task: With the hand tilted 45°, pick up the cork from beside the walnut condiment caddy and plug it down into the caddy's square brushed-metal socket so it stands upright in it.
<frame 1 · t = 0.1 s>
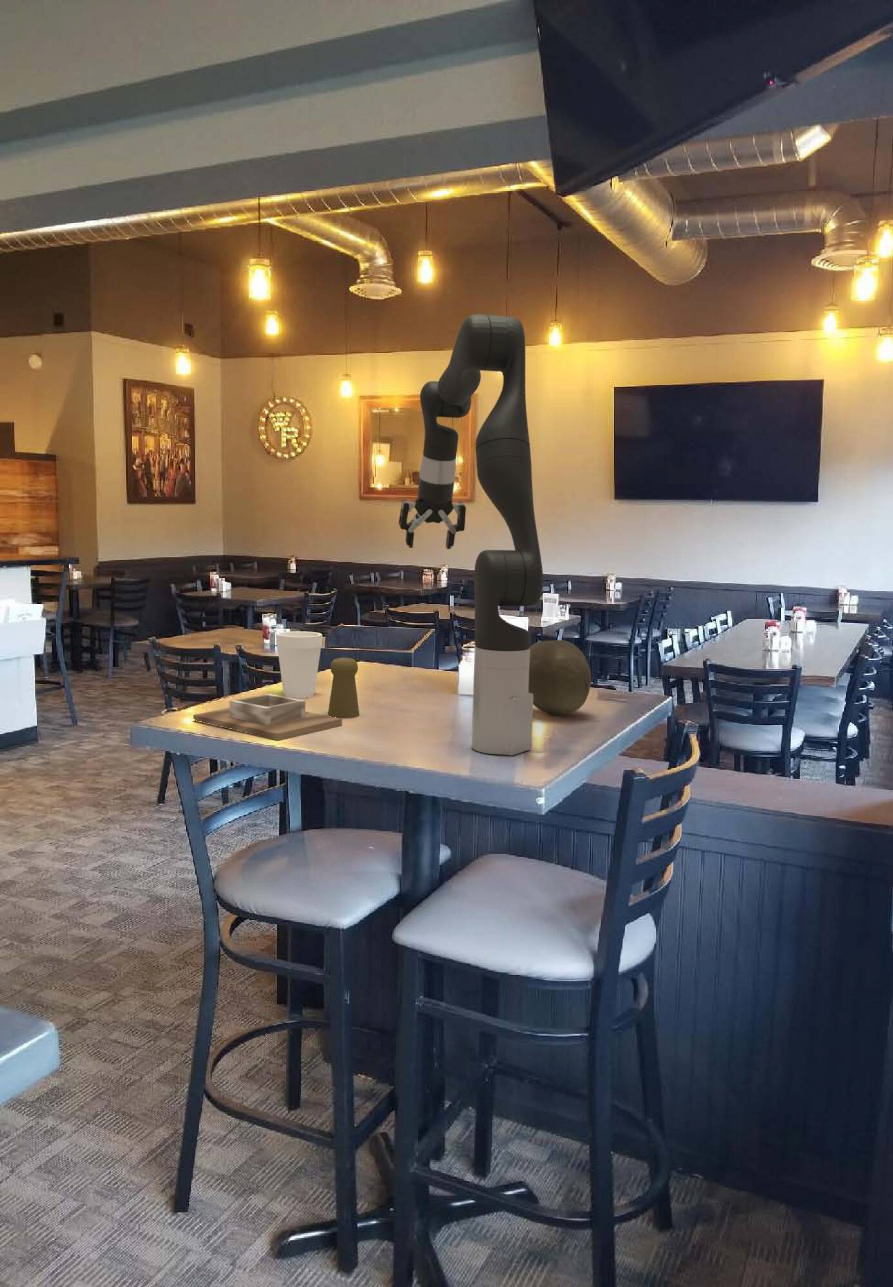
hand: (429, 547, 212), 31 cm above the table, tool tilted 20°, fingers open, 8 cm apart
foam cup: (298, 696, 203), on the table
cork: (343, 715, 185), on the table
condiment caddy: (267, 723, 176), on the table
cantaloupe: (552, 716, 190), on the table
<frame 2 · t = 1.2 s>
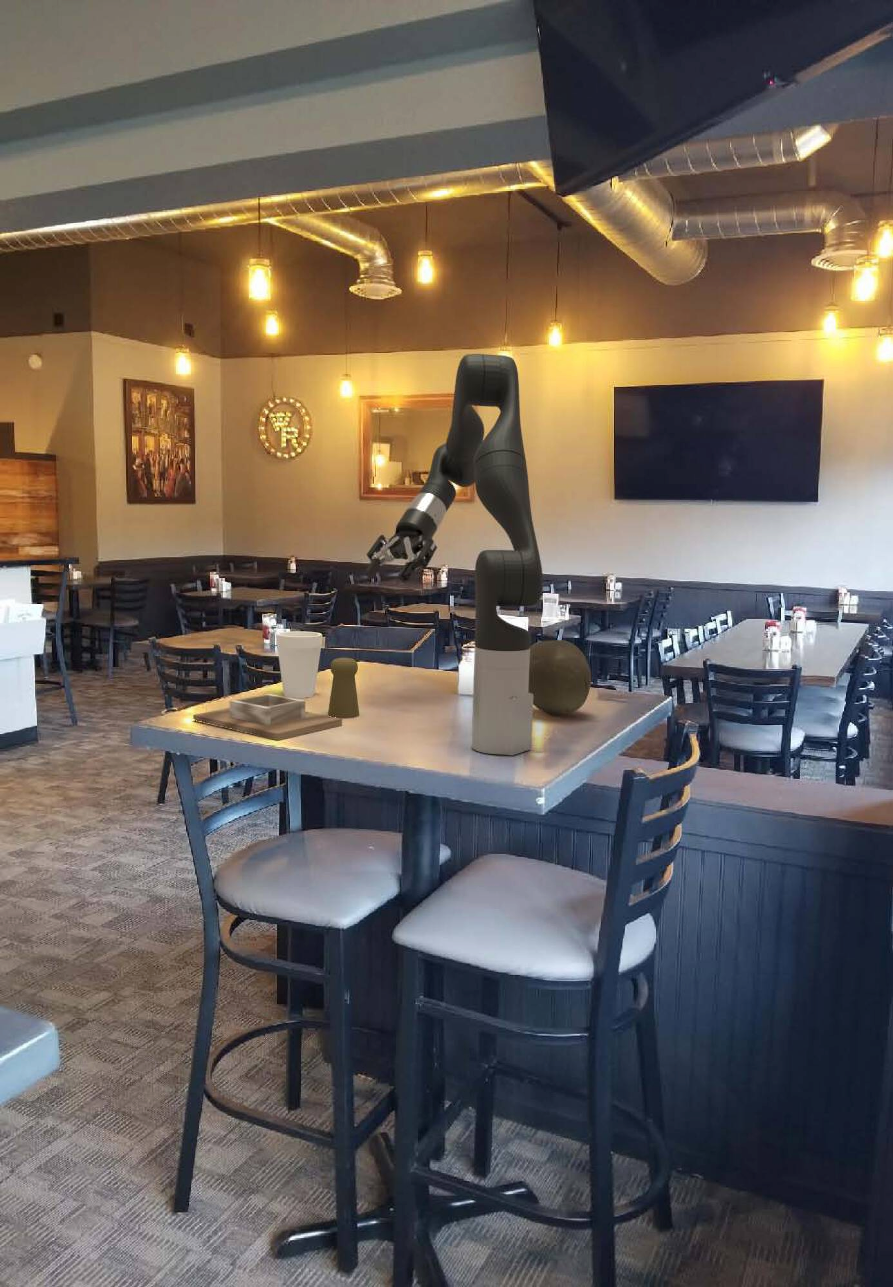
hand: (384, 578, 191), 26 cm above the table, tool tilted 45°, fingers open, 8 cm apart
nothing on the table moved.
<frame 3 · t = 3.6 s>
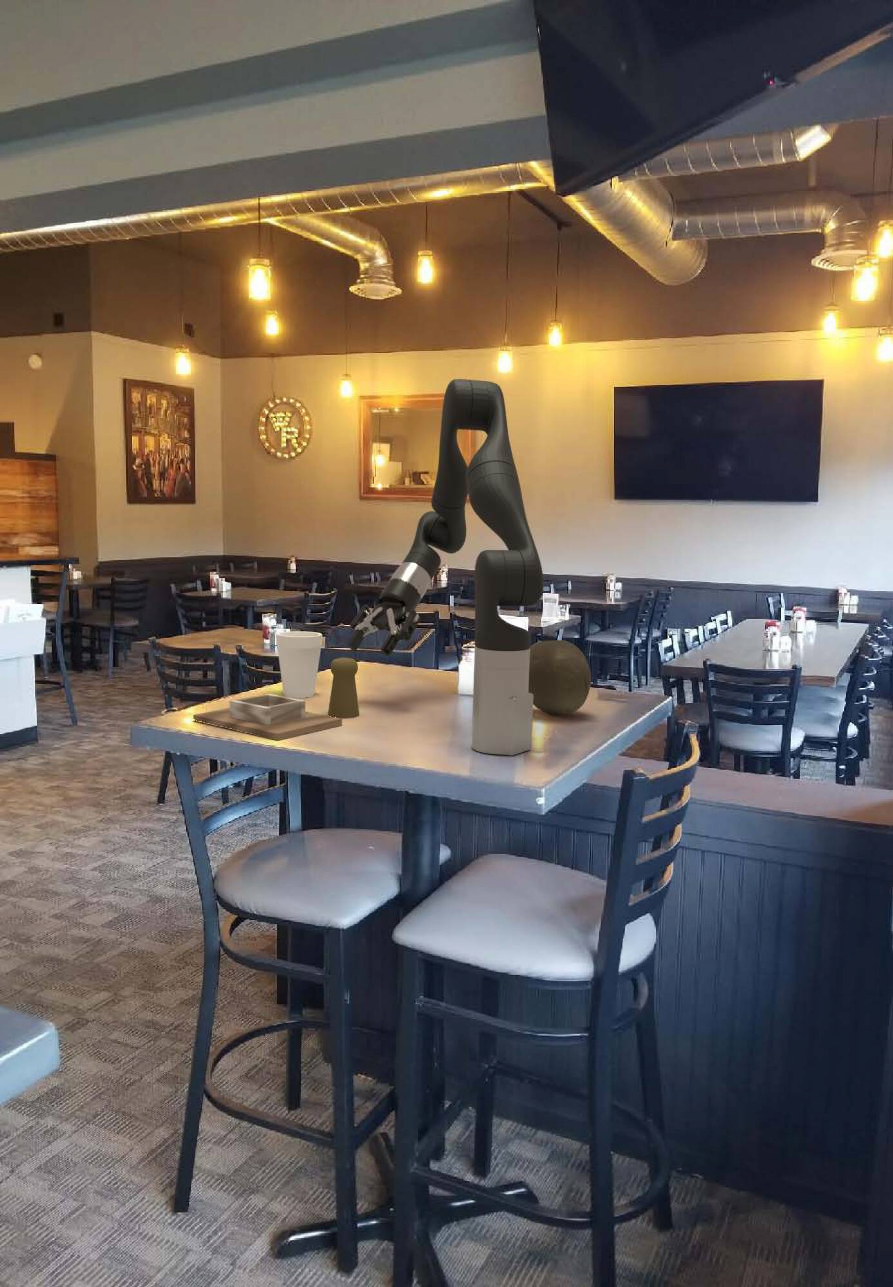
hand: (367, 650, 189), 12 cm above the table, tool tilted 45°, fingers open, 8 cm apart
nothing on the table moved.
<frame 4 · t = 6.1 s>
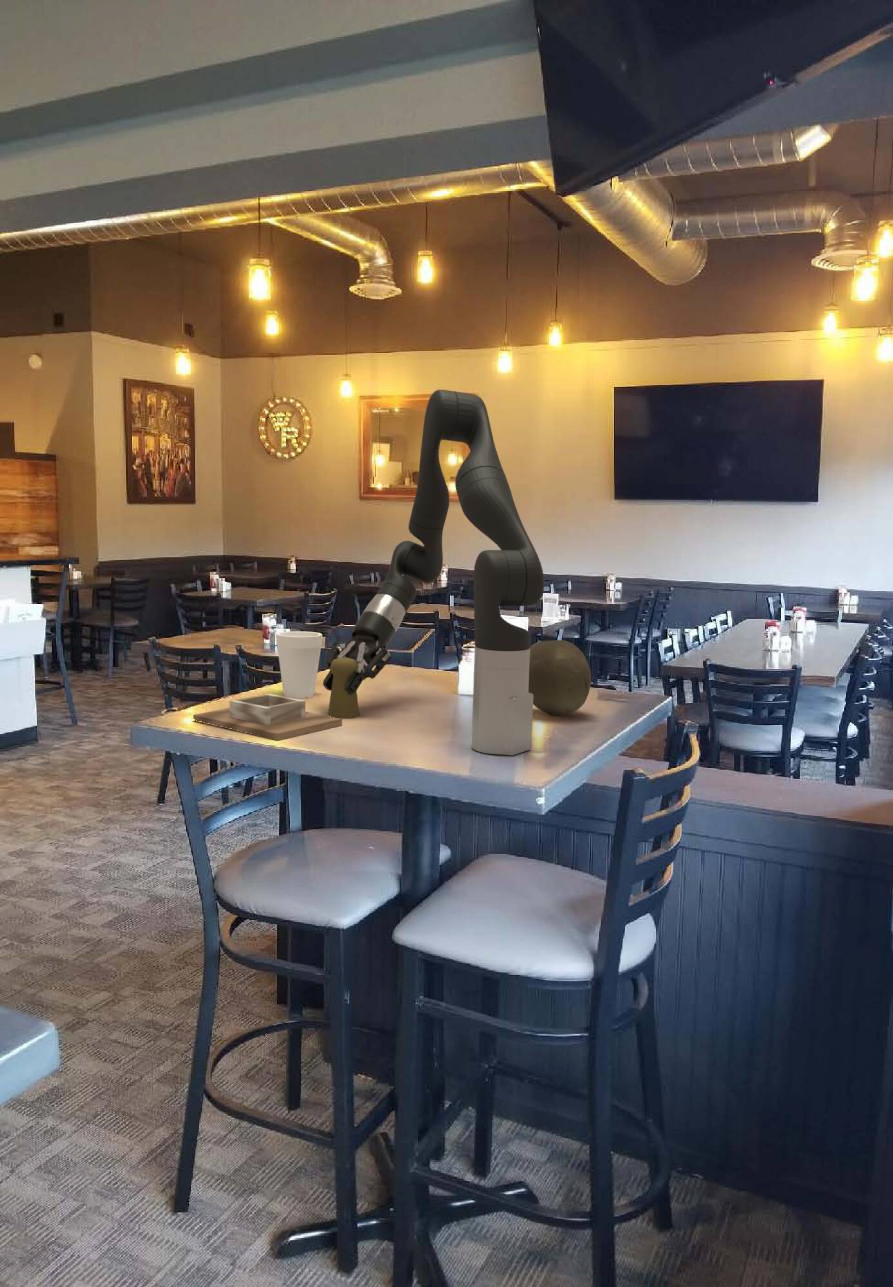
hand: (337, 689, 183), 5 cm above the table, tool tilted 45°, fingers closed on cork, 5 cm apart
cork: (343, 715, 185), on the table, touching gripper
everything else where it was.
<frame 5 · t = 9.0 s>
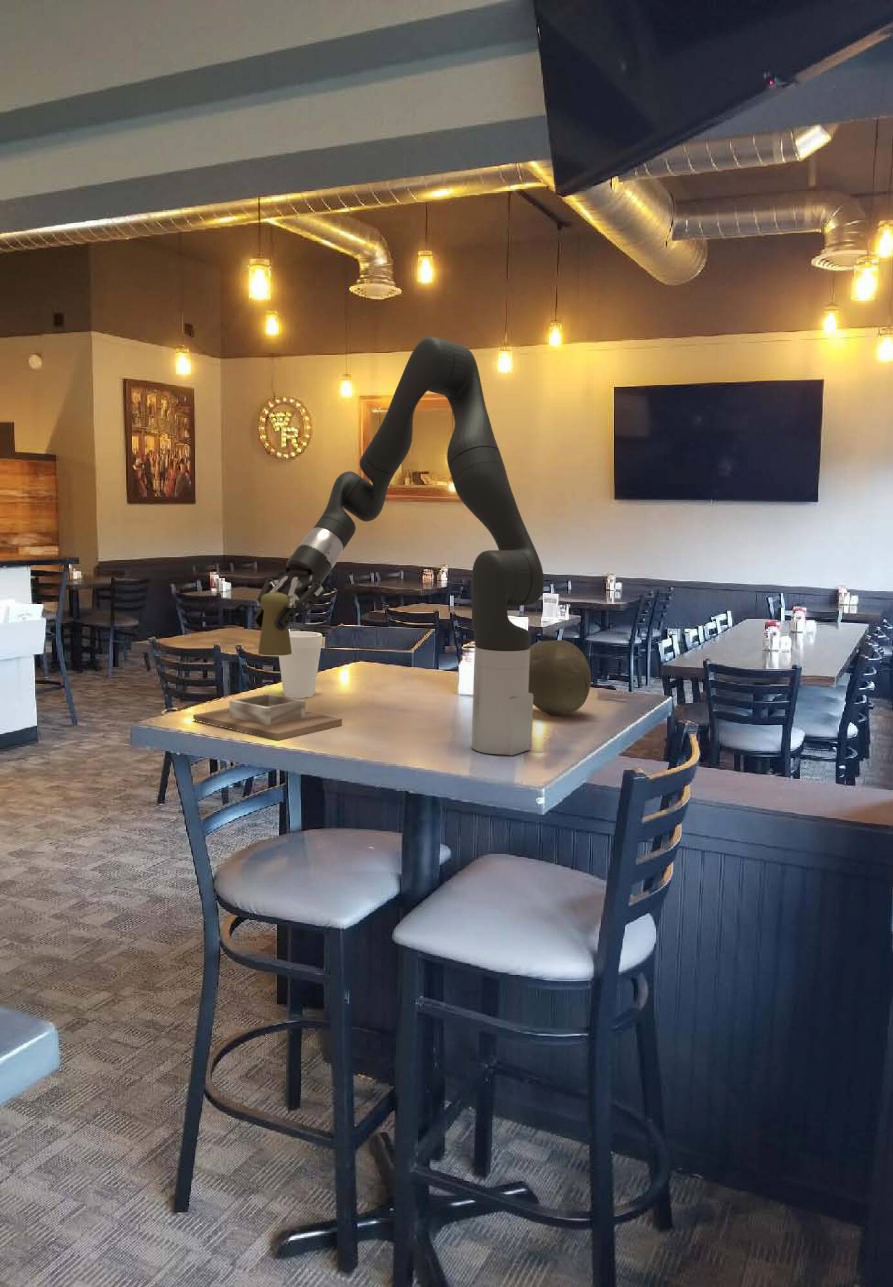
hand: (267, 625, 173), 18 cm above the table, tool tilted 45°, fingers closed on cork, 5 cm apart
cork: (275, 654, 176), point 13 cm above the table, touching gripper
everything else where it was.
when the fingers open (8 cm above the table, at t = 12.1 s): cork drops 1 cm, resting on condiment caddy.
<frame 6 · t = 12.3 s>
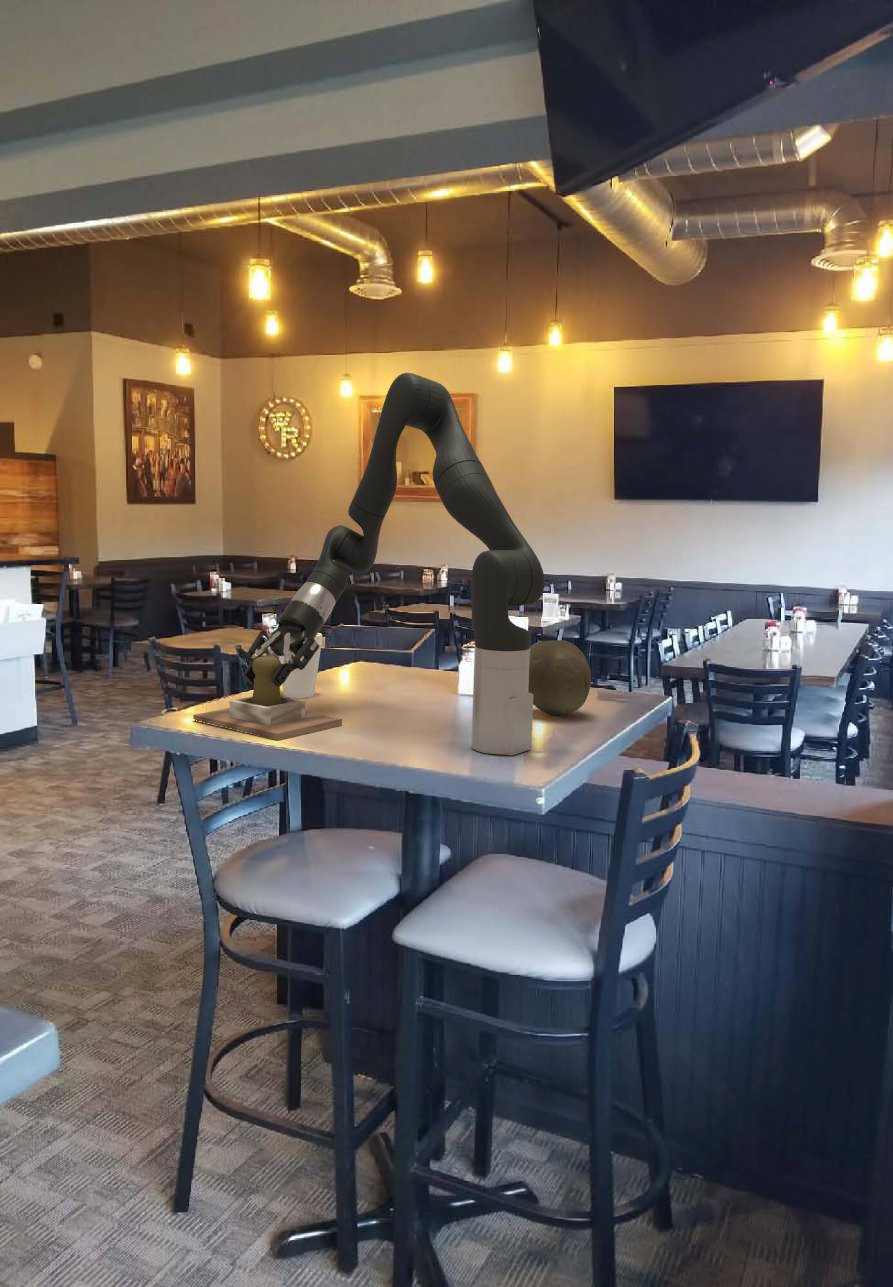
hand: (261, 680, 174), 8 cm above the table, tool tilted 45°, fingers open, 6 cm apart
cork: (266, 717, 176), point 1 cm above the table, touching condiment caddy
everything else where it was.
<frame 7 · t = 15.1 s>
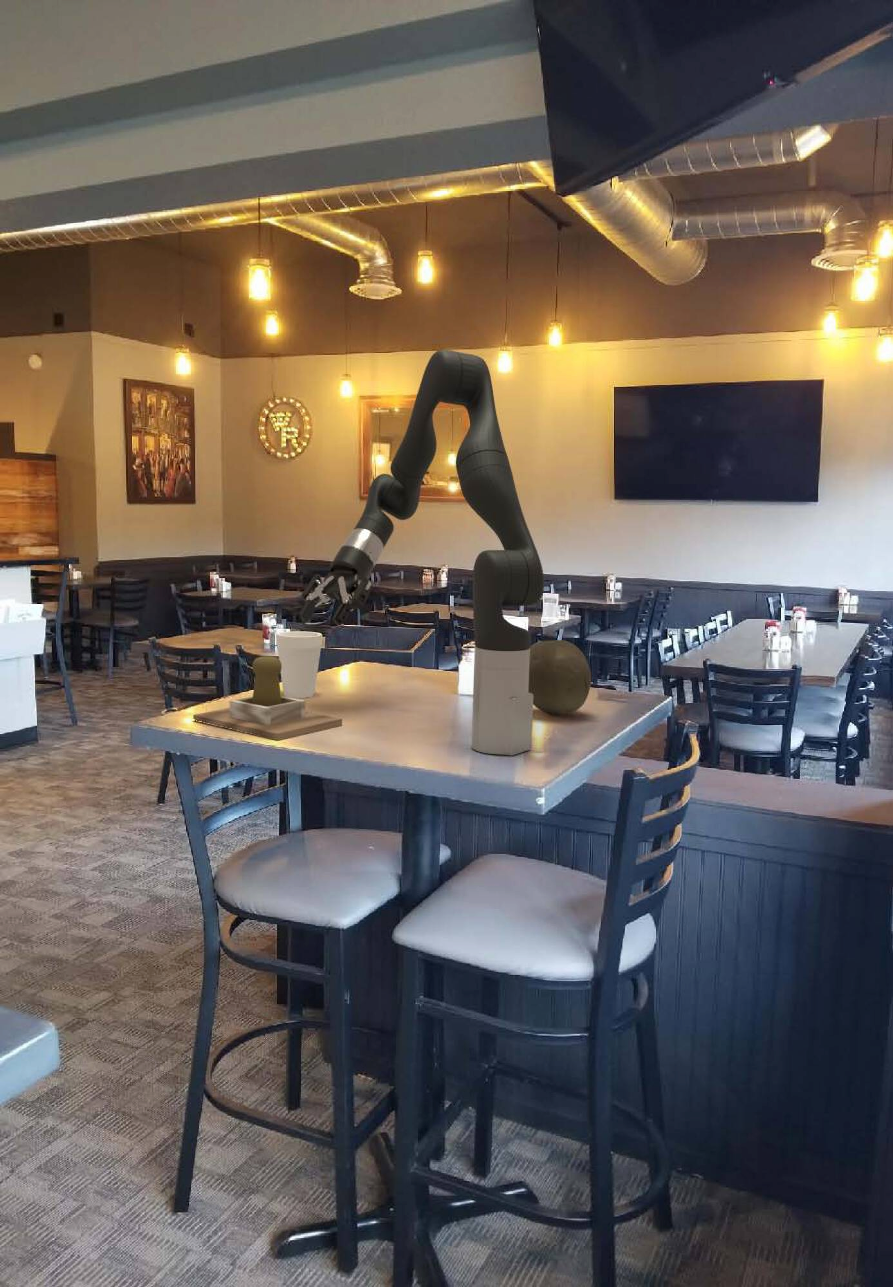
hand: (319, 621, 183), 18 cm above the table, tool tilted 45°, fingers open, 8 cm apart
nothing on the table moved.
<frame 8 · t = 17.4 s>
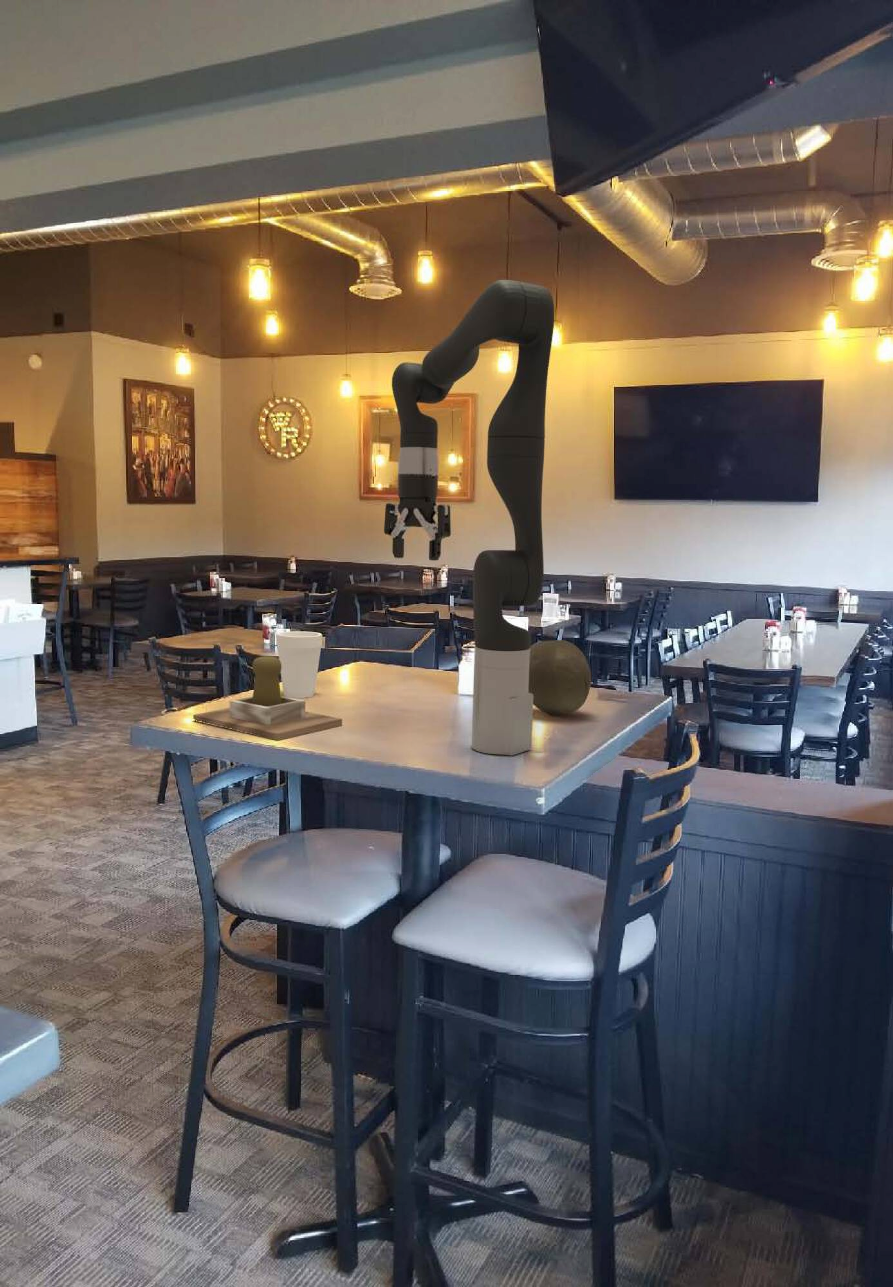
hand: (416, 559, 184), 30 cm above the table, tool pointing down, fingers open, 8 cm apart
nothing on the table moved.
at the end: cork 0.6 cm off-centre on the condiment caddy, point 1.0 cm above the condiment caddy's base; cork tilted 0°; the gripper is holding nothing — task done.
